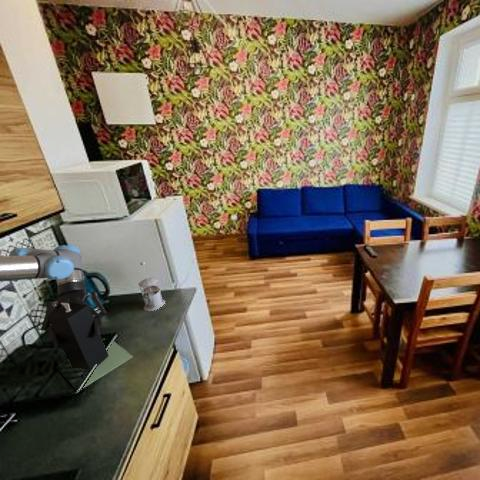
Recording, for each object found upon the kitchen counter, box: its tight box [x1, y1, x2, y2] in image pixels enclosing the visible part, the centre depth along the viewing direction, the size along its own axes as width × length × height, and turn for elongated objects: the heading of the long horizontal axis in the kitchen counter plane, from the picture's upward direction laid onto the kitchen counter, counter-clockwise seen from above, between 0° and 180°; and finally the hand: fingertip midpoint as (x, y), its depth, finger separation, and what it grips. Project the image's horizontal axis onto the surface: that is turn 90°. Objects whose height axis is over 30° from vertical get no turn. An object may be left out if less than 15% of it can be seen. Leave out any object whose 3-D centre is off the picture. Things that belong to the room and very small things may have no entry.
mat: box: [83, 341, 134, 389], centre depth 103 cm, size 20×18×1 cm
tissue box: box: [47, 303, 109, 369], centre depth 97 cm, size 8×8×28 cm
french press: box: [138, 261, 166, 312], centre depth 132 cm, size 10×12×25 cm
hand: (78, 341), depth 95 cm, fingers closed on tissue box, 10 cm apart
